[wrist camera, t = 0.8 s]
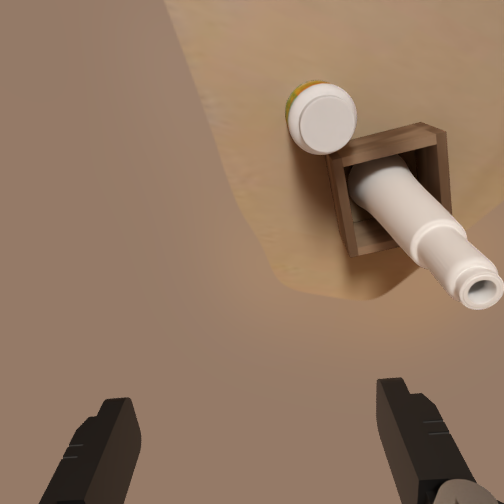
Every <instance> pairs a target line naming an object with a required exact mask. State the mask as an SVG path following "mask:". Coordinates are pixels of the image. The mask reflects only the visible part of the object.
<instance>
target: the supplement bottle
mask: <svg viewBox="0 0 504 504" xmlns="http://www.w3.org/2000/svg"><path fill="white" fill-rule="evenodd" d="M285 117H286V122H287V125H288V129H289V132H290V134H291V137H292V138H293V140H294V142H295V143H296V144H297V145H298V146H299V147H300V148H301V149H303V150H304V151H306V152H308V153H311V154H316V155H326V154H330V153H333V152H335V151H337V150H339V149H341V148H342V147H344V146H345V145H346V144H347V143H348V142H349V140H350V139H351V137H352V135H353V133H354V131H355V128H356V124H357V110H356V107H355V104H354V102H353V100H352V98H351V97H350V95H349V94H348V93H347V92H346V91H345V90H343V89H342V88H340V87H338V86H336V85H333V84H330V83H328V82H325V81H320V80H313V81H308V82H305V83H303V84H301V85H300V86H298V87H297V88H296V89H295V90H294V91H293V92H292V93H291V95H290V96H289V98H288V101H287V104H286V109H285Z"/></svg>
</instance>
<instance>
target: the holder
mask: <svg viewBox="0 0 504 504" xmlns="http://www.w3.org/2000/svg"><path fill="white" fill-rule="evenodd" d="M411 150H415V156H416V165H417V175H418V182H419V183H420V184H421V185H422V186H423V187H424V188H425V189H426V190H427V191H428V192H429V193H430V194H431V195H432V196H433V197H434V198H435V199H436V200H437V201H438V202H439V203H440V204H441V205H442V206H443V207H444V208H445V209H446V210H447V211H448V212H449V213H450V214H451V215H452V206H451V192H450V178H449V164H448V150H447V136H446V131H443V130H440V129H438V128H435V127H433V126H430V125H427V124H425V123H422V122H419V123H415V124H412V125H408V126H404V127H400V128H396V129H392V130H388V131H384V132H380V133H376V134H372V135H368V136H364V137H360V138H356V139H353V140H349V142H348V143H347V144H346V145H345V146H344V147H342V148H341V149H339V150H337V151H335V152H333V153H330V154H326V155H325V158H326V163H327V169H328V174H329V179H330V185H331V190H332V195H333V200H334V206H335V211H336V216H337V222H338V227H339V232H340V235H341V237H342V240H343V242H344V244H345V247H346V249H347V252H348V254H349V256H350V257H355V256H359V255H364V254H369V253H373V252H378V251H383V250H387V249H392V248H396V247H400V246H399V245H398V244H397V242H396V241H395V240H394V239H393V238H392V237H391V236H390V234H389V233H388V232H387V231H386V230H385V229H384V227H383V226H382V225H381V224H380V223H379V222H378V221H377V220H376V219H375V218H373V219H368V220H364V221H359V222H355V223H353V219H352V214H351V208H350V202H349V196H348V191H347V185H346V179H345V173H344V168H343V167H346V166H350V165H354V164H358V163H362V162H366V161H370V160H374V159H378V158H382V157H386V156H391V155H395V154H399V153H403V152H407V151H411Z"/></svg>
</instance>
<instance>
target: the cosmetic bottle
mask: <svg viewBox="0 0 504 504" xmlns="http://www.w3.org/2000/svg"><path fill="white" fill-rule="evenodd" d="M348 191H349V194H350V196H351V198H352V200H353V201H354V202H355V203H356V204H357V205H358V206H360V207H362V208H363V209H365V210H366V211H368V212H369V213H370V214H371V215H372V216H373V217H374V218H375V219H376V220H377V221H378V222H379V223H380V224H381V225H382V226H383V227H384V229H385V230H386V231H387V232H388V233H389V234H390V236H391V237H392V238H393V239H394V240H395V241H396V242H397V244H398V245H399V246H400V247H401V248H402V249H403V250H404V251H405V252H406V254H407V255H408V256H409V257H410V258H411V259H412V260H413V261H414V262H415V263H416V264H417V265H419V266H420V267H422V268H425V269H428V270H430V272H431V273H432V274H433V275H434V277H435V278H436V279H437V281H438V282H439V283H440V285H441V286H442V287H443V288H444V290H445V291H446V292H447V293H448V295H449V296H450V297H452V298H453V299H455V300H457V301H459V302H461V303H462V304H463V305H464V306H466V307H467V308H470V309H475V310H481V309H485V308H488V307H491V306H492V305H494V304H495V303H496V302H497V301H498V300H499V299H500V298H501V296H502V295H503V292H504V283H503V281H502V279H501V278H500V277H499V276H498V271H497V269H496V267H495V265H494V264H493V263H492V262H491V261H490V260H489V259H488V258H487V257H486V256H484V255H483V254H482V253H481V252H480V251H479V250H478V249H476V248H475V247H474V246H473V245H472V244H471V243H470V242H469V241H468V240H467V236H466V232H465V230H464V228H463V227H462V226H461V225H460V224H459V223H458V222H457V220H456V219H455V218H454V217H453V216H452V215H451V214H450V213H449V212H448V211H447V210H446V209H445V208H444V207H443V206H442V205H441V204H440V203H439V202H438V201H437V200H436V199H435V198H434V197H433V196H432V195H431V194H430V193H429V192H428V191H427V190H426V189H425V188H424V187H423V186H422V185H421V184H420V183H419V182H418V181H417V180H416V179H415V177H414V176H413V175H412V173H411V172H410V170H409V168H408V166H407V164H406V162H405V161H404V160H403V159H402V158H401V157H400V156H399V155H397V154H395V155H391V156H386V157H382V158H378V159H374V160H370V161H366V162H362V163H358V164H354V166H353V167H352V169H351V171H350V173H349V176H348Z"/></svg>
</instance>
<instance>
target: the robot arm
mask: <svg viewBox="0 0 504 504" xmlns="http://www.w3.org/2000/svg"><path fill="white" fill-rule="evenodd" d="M376 397H377V398H376V400H377V401H376V403H377V404H376V418H377V426H378V431H379V435H380V439H381V441H382V444H383V447H384V451H385V454H386V457H387V460H388V463H389V466H390V469H391V472H392V475H393V478H394V481H395V484H396V487H397V490H398V493H399V496H400V499H401V502H402V504H504V503H502V502H500V501H498V500H496V499H495V498H494V497H493V495H492V494H491V493H490V492H489V491H488V490H486V489H485V488H484V487H482V486H480V485H479V484H477V482H476V481H475V479H474V477H473V476H472V474H471V472H470V470H469V468H468V466H467V464H466V462H465V460H464V459H463V457H462V455H461V453H460V451H459V449H458V447H457V445H456V443H455V442H454V440H453V438H452V436H451V434H449V430H448V428H447V426H446V424H445V423H444V422H443V419H442V417H441V415H440V413H439V411H438V409H437V407H436V405H435V404H434V403H432V402H431V401H430V400H429V399H428V398H427V397H426V396H424V395H423V394H422V393H419V394H410V393H409V391H408V389H407V386H406V384H405V383H404V380H403V379H402V378H387V379H378V380H377V395H376ZM140 448H141V432H140V428H139V425H138V421H137V418H136V414H135V411H134V408H133V404H132V401H131V399H130V398H114V399H106V400H105V401H104V402H103V404H102V406H101V408H100V410H99V412H98V415H97V416H95V417H89V418H88V419H87V420H86V421H85V422H84V423H83V424H82V425H81V426H80V427H79V428H78V429H77V430H76V432H75V434H74V436H73V438H72V440H71V442H70V444H69V447H68V448H67V449H66V452H65V454H64V455H63V459H62V460H61V461H60V463H59V465H58V467H57V469H56V471H55V473H54V475H53V477H52V479H51V481H50V483H49V485H48V487H47V489H46V491H45V493H44V494H43V496H42V498H41V501H40V502H39V504H124V501H125V497H126V494H127V491H128V488H129V485H130V481H131V478H132V475H133V472H134V469H135V466H136V462H137V459H138V456H139V453H140Z"/></svg>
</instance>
